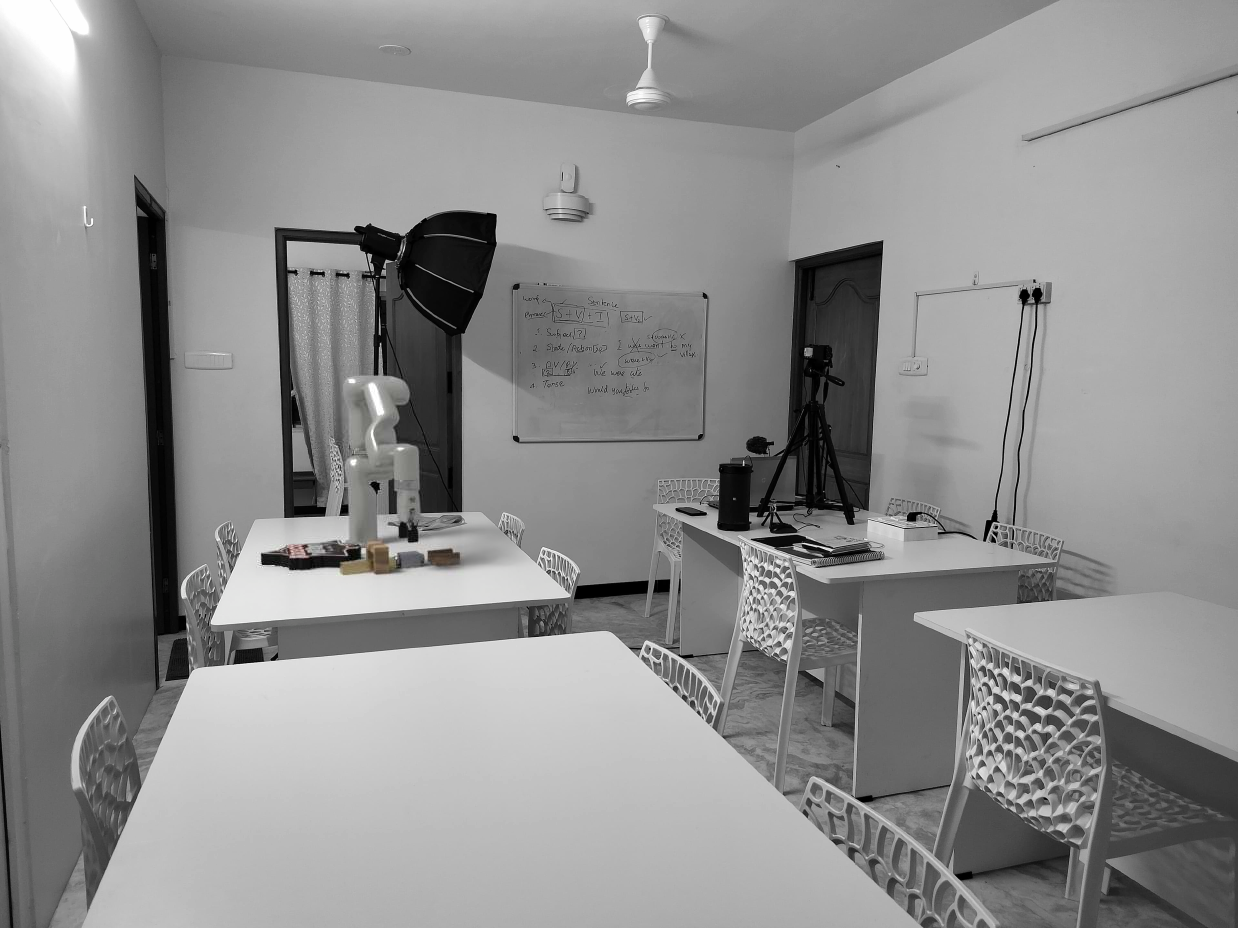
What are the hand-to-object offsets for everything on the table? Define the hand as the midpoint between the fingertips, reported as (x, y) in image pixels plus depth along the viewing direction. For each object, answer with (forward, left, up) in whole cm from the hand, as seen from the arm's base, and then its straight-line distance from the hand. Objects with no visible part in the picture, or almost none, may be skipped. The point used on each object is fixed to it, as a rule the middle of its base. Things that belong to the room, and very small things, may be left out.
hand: (408, 540), depth 253 cm
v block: (-1, +11, -8) cm, 14 cm away
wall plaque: (-23, -25, -9) cm, 35 cm away
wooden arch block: (-1, -10, -8) cm, 13 cm away
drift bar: (-1, -12, -9) cm, 15 cm away
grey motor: (-1, 0, -9) cm, 9 cm away
